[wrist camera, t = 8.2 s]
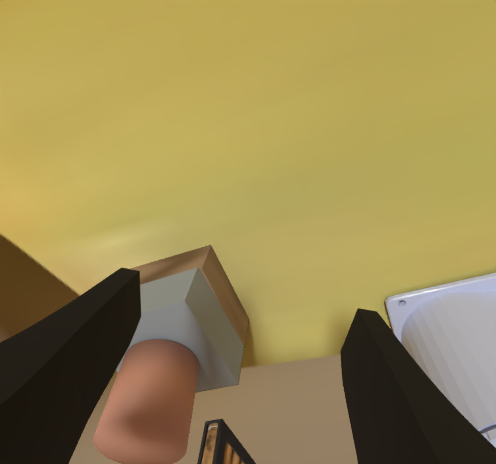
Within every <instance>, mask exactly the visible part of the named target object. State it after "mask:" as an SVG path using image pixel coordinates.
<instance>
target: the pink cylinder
mask: <svg viewBox="0 0 496 464" xmlns="http://www.w3.org/2000/svg"><path fill="white" fill-rule="evenodd" d="M198 371H199V362H198V359H197V358H196V356H195V355H194V354H193V352H191V351H190V350H189V349H188V348H186V347H185V346H183V345H181V344H178V343H176V342H173V341H169V340H162V339H151V340H144V341H141V342H138V343H136V344H134V345H132V346H131V347H130V348H129V349H128V350H127V352H126V354H125V356H124V359H123V361H122V364H121V366H120V369H119V372H118V374H117V377H116V380H115V382H114V385H113V387H112V390H111V393H110V396H109V398H108V401H107V403H106V406H105V409H104V411H103V414H102V416H101V419H100V422H99V424H98V427H97V430H96V432H95V435H94V438H93V441H94V445H95V447H96V448H97V450H98V451H100V453H101V454H103V455H104V456H106V457H107V458H109V459H111V460H113V461H116V462H119V463H122V464H173V463H175V462H177V461H179V460H180V459H181V458H182V457H183V456H184V455H185V453H186V450H187V444H188V437H189V431H190V423H191V418H192V411H193V404H194V398H195V391H196V384H197V378H198Z"/></svg>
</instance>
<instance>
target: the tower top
mask: <svg viewBox="0 0 496 464" xmlns="http://www.w3.org/2000/svg"><path fill="white" fill-rule="evenodd" d="M140 294H141V319H140V321H139V324H138V326H137V329H136V331H135V334H134V336H133V339H132V341H131V343H130V345H129V347H128V349H129V348H130V347H131V346H132V345H134V344H136V343H138V342H141V341H144V340H151V339H162V340H169V341H173V342H176V343H178V344H181V345H183V346H185V347H186V348H188V349H189V350H190V351H191V352H193V354H194V355H195V356H196V358H197V359H198V362H199V371H198V378H197V384H196V391H195V393H196V392H201V391H207V390H212V389H217V388H222V387H228V386H233V385H238V384H239V377H240V371H241V364H242V356H243V349H244V345H243V343H242V342H241V340H240V338H239V336H238V335H237V333H236V331H235V330H234V328H233V326H232V325H231V323H230V321H229V319H228V318H227V316H226V314H225V313H224V311H223V309H222V308H221V306H220V304H219V302H218V301H217V299H216V297H215V296H214V294H213V292H212V291H211V289H210V287H209V285H208V284H207V282H206V280H205V279H204V277H203V275H202V274H201V272H200V270H199V268H198V267H197V268H194V269H190V270H187V271H184V272H180V273H177V274H174V275H171V276H167V277H164V278H161V279H158V280H154V281H151V282H148V283H144V284H141V285H140ZM128 349H127V350H128ZM126 352H127V351H126ZM125 354H126V353H125ZM125 354H124V356H125ZM124 356H123V358H122V360H121V362H120V363H119V365H118V367H117V369H116V371H117V372H119V369H120V366H121V364H122V361H123V359H124Z"/></svg>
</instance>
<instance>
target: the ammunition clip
mask: <svg viewBox="0 0 496 464" xmlns="http://www.w3.org/2000/svg"><path fill="white" fill-rule="evenodd" d="M197 464H256V463H255V462H254V460H253V459H252V458H251V456H250V455H249V454H248V453H247V451H246V450H245V448H244V447H243V446H242V444H241V443H240V442H239V440H238V439H237V438H236V436H235V435H234V434H233V432H232V431H231V430H230V429H229V427H228V426H227V424H226V423H225V422H224V420H223V419H218V420H212V421H207V422H205V427H204V432H203V438H202V442H201V448H200V453H199V459H198V463H197Z"/></svg>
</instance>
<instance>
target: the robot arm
mask: <svg viewBox="0 0 496 464" xmlns="http://www.w3.org/2000/svg"><path fill="white" fill-rule="evenodd" d="M401 300H404V301H402V302H399V301H401ZM385 304H386V308H387V311H388V315H389V319H390V322H391V326H392V329H393V332H392V331H391V329H390V328H389V327H388V325H387V324H386V323H385V321H384V320H383V319H382V317H381V316H380V315H379V314H378V312H376V311H370V310H364V309H359V308H358V310H357V312H356V314H355V317H354V319H353V322H352V324H351V327H350V329H349V332H348V334H347V337H346V339H345V342H344V344H343V347H342V349H341V368H342V379H343V387H344V392H345V398H346V403H347V408H348V413H349V418H350V423H351V428H352V433H353V439H354V443H355V448H356V454H357V459H358V464H496V273H492V274H487V275H483V276H479V277H474V278H470V279H465V280H461V281H456V282H452V283H447V284H443V285H438V286H434V287H429V288H425V289H421V290H416V291H412V292H407V293H403V294H398V295H394V296H390V297H388V298H387V299H386V300H385ZM140 319H141V294H140V271H137V270H132V269H126V268H120V269H119V270H117V271H116V272H114V273H113V274H111V275H110V276H108V277H107V278H106V279H104V280H103V281H101V282H100V283H98V284H97V285H95V286H94V287H92V288H91V289H90V290H88V291H87V292H85V293H84V294H82V295H81V296H79V297H78V298H76V299H75V300H73V301H72V302H70V303H68V304H67V305H65V306H64V307H62V308H61V309H59V310H57V311H56V312H54V313H52V314H51V315H49V316H48V317H46V318H44V319H43V320H41V321H39V322H37V323H36V324H34V325H32V326H31V327H29V328H27V329H25V330H24V331H22V332H20V333H18V334H16V335H14V336H12V337H11V338H9V339H7V340H4V341H3V342H1V343H0V464H69V461H70V459H71V456H72V454H73V452H74V450H75V448H76V446H77V443H78V441H79V439H80V437H81V434H82V432H83V430H84V428H85V426H86V423H87V421H88V419H89V418H90V416H91V414H92V412H93V410H94V408H95V406H96V404H97V403H98V401H99V399H100V397H101V395H102V394H103V392H104V390H105V388H106V387H107V385H108V383H109V381H110V379H111V378H112V376H113V374H114V372H115V371H116V369H117V367H118V365H119V363H120V362H121V360H122V358H123V356H124V354H125V353H126V351H127V349H128V347H129V345H130V343H131V341H132V339H133V336H134V334H135V331H136V329H137V326H138V324H139V321H140Z"/></svg>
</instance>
